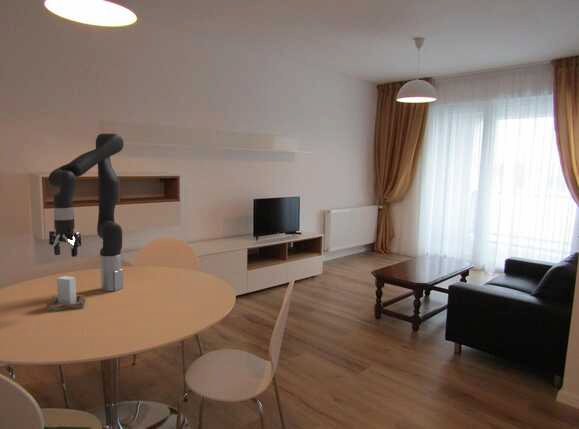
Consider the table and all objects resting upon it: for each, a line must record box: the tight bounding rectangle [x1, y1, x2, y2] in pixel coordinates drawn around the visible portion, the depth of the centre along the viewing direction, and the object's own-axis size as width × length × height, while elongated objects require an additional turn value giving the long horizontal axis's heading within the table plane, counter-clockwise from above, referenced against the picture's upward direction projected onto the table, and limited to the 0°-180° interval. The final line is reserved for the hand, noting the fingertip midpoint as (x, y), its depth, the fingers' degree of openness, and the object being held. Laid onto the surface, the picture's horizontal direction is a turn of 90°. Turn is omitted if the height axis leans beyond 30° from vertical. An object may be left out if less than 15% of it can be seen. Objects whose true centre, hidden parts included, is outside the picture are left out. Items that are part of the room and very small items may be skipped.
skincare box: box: [56, 275, 77, 304], centre depth 176 cm, size 6×4×12 cm
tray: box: [48, 294, 86, 313], centre depth 176 cm, size 13×13×2 cm
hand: (65, 255), depth 174 cm, fingers open, 8 cm apart
